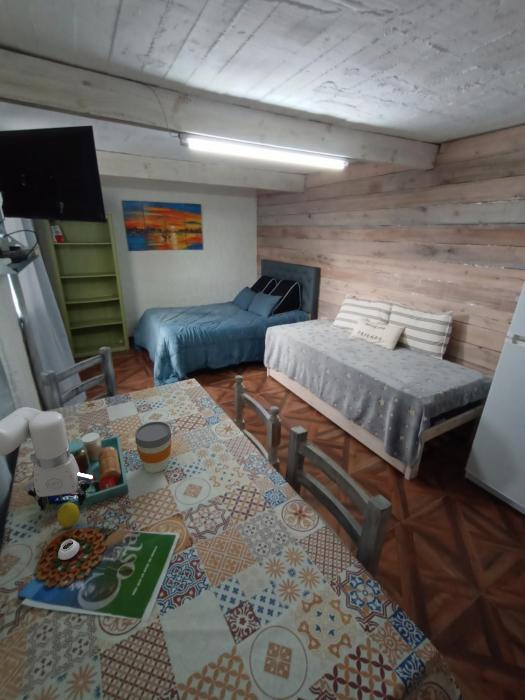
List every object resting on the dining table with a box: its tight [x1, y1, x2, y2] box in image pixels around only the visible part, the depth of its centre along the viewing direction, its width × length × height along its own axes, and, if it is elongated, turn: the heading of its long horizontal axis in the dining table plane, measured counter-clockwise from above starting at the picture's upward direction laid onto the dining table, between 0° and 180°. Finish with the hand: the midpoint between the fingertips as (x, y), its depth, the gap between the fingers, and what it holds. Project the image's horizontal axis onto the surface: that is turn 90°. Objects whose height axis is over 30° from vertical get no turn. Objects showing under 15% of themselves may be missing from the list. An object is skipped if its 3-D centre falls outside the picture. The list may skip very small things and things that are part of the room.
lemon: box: [56, 502, 81, 528], centre depth 93 cm, size 6×6×8 cm
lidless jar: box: [57, 538, 81, 561], centre depth 86 cm, size 5×3×5 cm
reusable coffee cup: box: [134, 421, 173, 474], centre depth 117 cm, size 13×13×15 cm
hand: (63, 504), depth 91 cm, fingers open, 9 cm apart
